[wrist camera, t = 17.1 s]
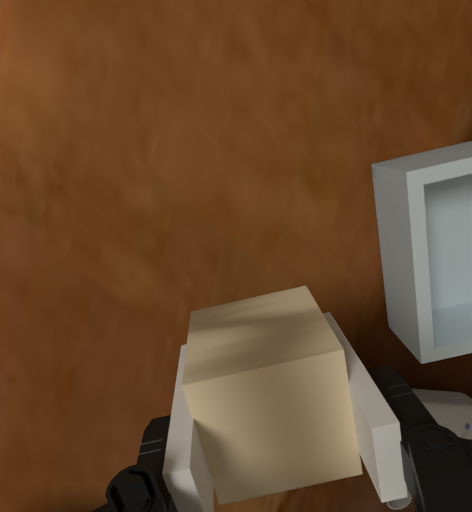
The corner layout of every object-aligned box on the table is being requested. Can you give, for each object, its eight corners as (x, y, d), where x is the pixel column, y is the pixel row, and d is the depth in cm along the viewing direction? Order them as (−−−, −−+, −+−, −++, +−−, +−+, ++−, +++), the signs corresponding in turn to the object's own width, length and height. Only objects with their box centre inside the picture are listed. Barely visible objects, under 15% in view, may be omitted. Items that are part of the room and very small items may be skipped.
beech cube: (218, 406, 18) (219, 504, 13) (190, 311, 16) (182, 385, 12) (323, 383, 18) (362, 473, 13) (306, 285, 16) (343, 349, 12)
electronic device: (543, 532, 29) (353, 527, 27) (460, 435, 38) (314, 426, 37) (571, 477, 28) (372, 468, 26) (478, 389, 37) (326, 378, 35)
